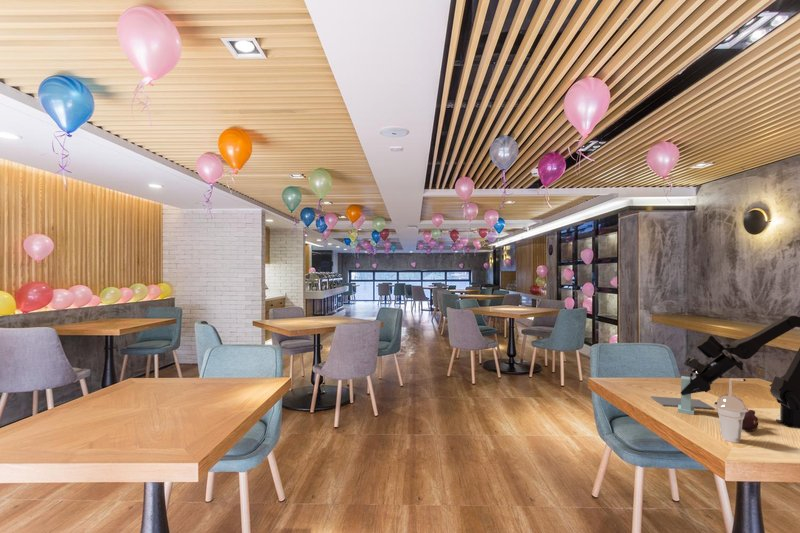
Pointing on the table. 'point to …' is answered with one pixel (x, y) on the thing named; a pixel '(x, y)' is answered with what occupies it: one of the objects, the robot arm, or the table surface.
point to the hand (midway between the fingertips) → (681, 392)
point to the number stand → (685, 398)
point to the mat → (677, 401)
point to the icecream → (750, 421)
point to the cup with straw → (731, 414)
